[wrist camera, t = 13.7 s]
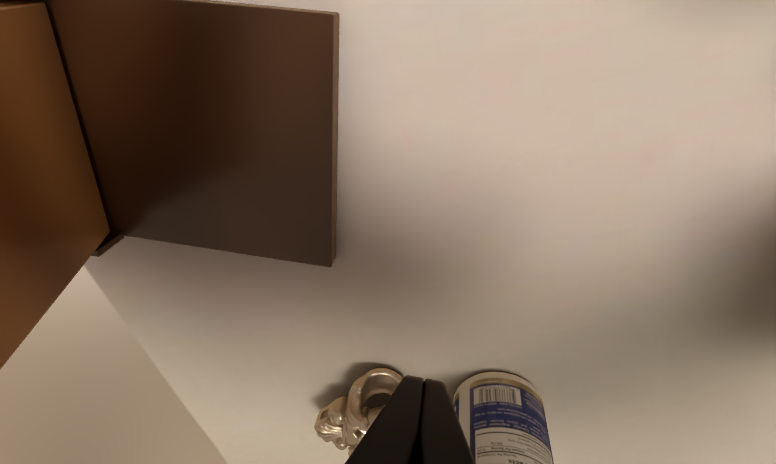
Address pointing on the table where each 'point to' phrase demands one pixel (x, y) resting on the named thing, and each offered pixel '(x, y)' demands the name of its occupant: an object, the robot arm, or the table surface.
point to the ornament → (355, 409)
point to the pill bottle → (503, 420)
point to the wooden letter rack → (39, 176)
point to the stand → (208, 121)
